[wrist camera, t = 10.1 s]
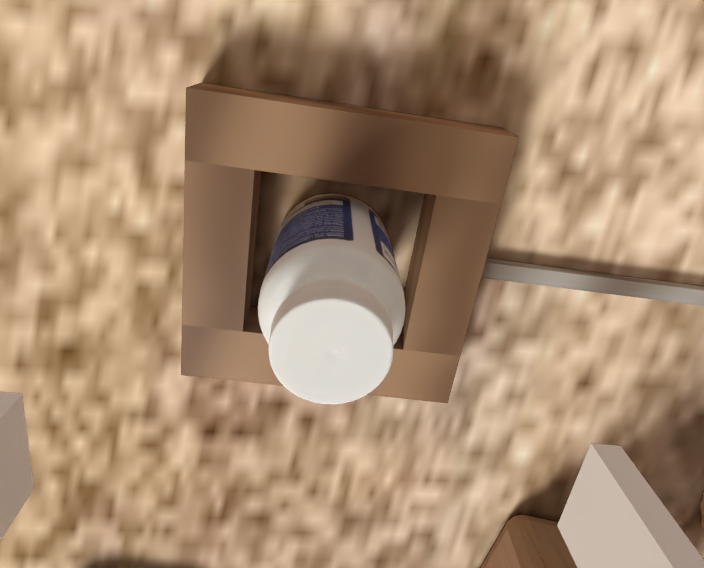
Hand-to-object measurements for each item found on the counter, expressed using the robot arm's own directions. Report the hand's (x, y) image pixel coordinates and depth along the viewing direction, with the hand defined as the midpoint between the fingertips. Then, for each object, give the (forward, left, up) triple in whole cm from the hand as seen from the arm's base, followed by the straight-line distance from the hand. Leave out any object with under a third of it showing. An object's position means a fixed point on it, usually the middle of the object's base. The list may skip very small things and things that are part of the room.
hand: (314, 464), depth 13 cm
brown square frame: (+7, 0, -14) cm, 16 cm away
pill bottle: (0, 0, -15) cm, 15 cm away
